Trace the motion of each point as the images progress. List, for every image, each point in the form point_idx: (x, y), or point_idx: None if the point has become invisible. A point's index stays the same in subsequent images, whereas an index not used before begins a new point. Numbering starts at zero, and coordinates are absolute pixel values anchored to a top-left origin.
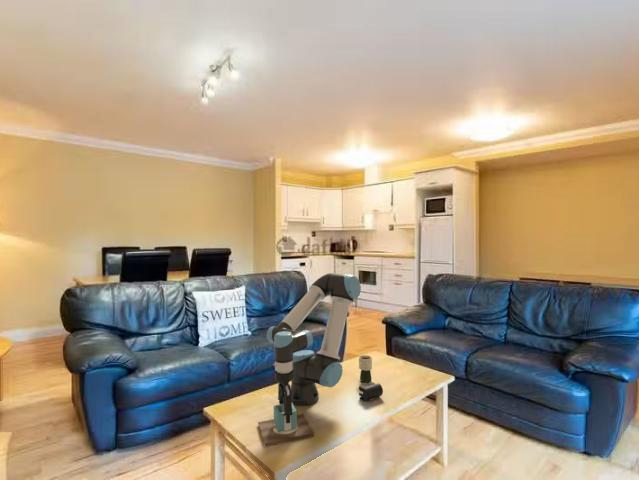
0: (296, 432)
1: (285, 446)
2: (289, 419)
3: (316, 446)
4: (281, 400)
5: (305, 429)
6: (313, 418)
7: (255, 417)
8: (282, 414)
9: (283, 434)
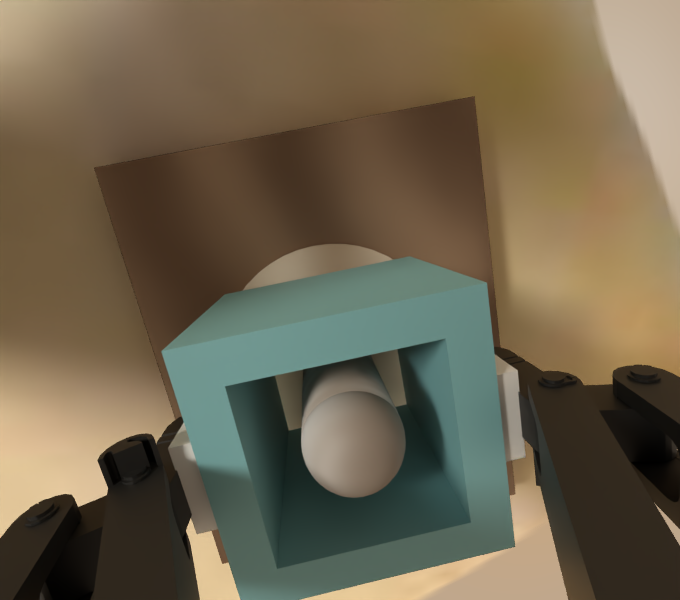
0: (436, 262)
1: (533, 344)
2: (528, 368)
3: (598, 108)
4: (190, 563)
5: (405, 174)
6: (148, 64)
7: None
8: (503, 479)
9: None
